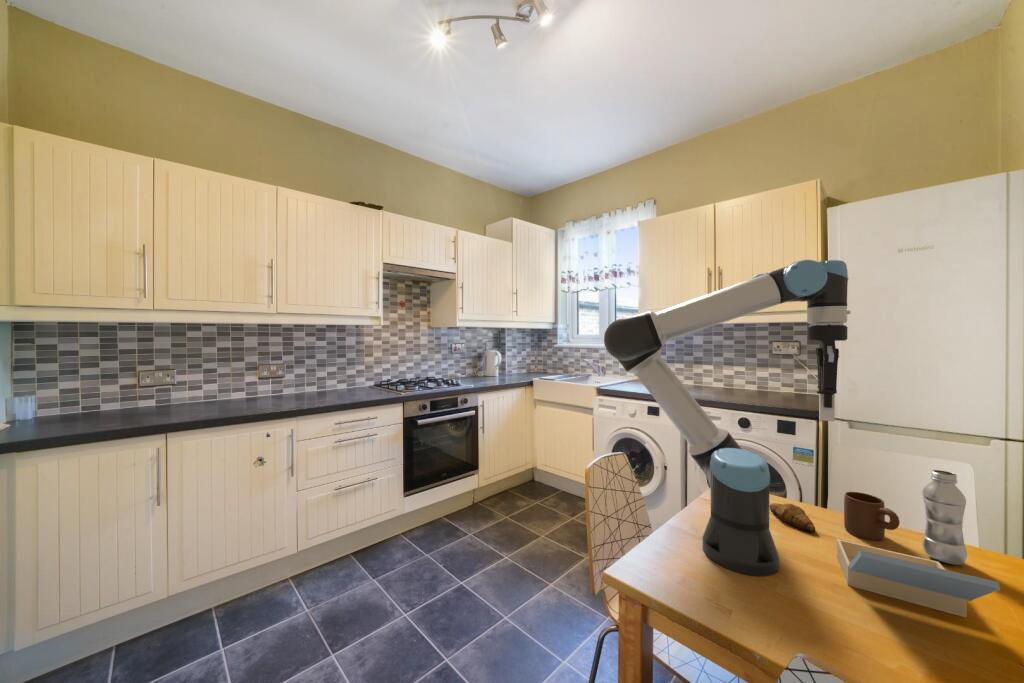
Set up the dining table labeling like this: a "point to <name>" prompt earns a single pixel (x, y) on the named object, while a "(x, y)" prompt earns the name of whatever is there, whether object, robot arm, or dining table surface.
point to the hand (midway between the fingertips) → (826, 420)
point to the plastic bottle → (944, 519)
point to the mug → (867, 516)
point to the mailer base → (895, 589)
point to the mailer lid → (922, 576)
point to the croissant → (793, 516)
